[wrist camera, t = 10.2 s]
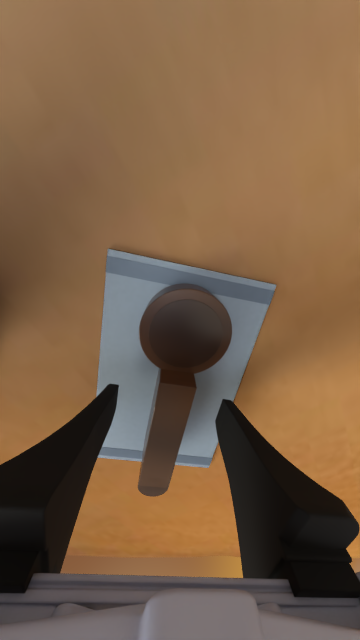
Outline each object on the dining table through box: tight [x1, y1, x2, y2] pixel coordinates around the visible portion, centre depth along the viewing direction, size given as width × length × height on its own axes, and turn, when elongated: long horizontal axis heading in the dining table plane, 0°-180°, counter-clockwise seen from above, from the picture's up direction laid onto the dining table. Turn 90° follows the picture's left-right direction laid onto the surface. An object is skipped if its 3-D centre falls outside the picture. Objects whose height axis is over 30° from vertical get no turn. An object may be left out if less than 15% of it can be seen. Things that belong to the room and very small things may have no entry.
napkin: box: [97, 249, 276, 468], centre depth 15 cm, size 11×18×1 cm, turn 168°
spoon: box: [138, 284, 232, 496], centre depth 13 cm, size 15×6×3 cm, turn 168°
